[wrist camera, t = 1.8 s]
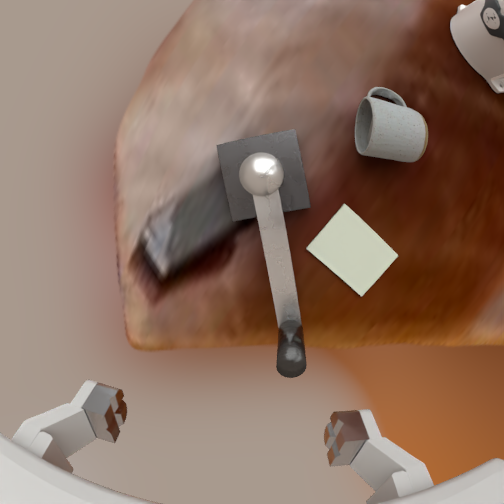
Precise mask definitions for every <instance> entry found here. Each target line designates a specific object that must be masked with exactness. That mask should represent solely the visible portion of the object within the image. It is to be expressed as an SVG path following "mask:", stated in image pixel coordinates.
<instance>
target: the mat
mask: <svg viewBox="0 0 504 504" xmlns="http://www.w3.org/2000/svg"><path fill="white" fill-rule="evenodd" d="M306 249H307V250H308V251H310V252H311V253H312V254H313V255H314V256H316V257H317V258H318V259H319V260H320V261H321V262H323V263H324V264H325V265H326V266H327V267H328V268H330V269H331V270H332V271H333V272H334V273H335V274H336V275H338V276H339V277H340V278H341V279H342V280H343V281H345V282H346V283H347V284H348V285H349V286H350V287H351V288H353V289H354V290H355V291H356V292H357V293H358V294H359V295H360V296H363V295H364V294H365V292H366V291H367V290H368V289H369V288H370V287H371V286H372V285H373V284H374V283H375V282H376V280H377V279H378V278H379V277H380V276H381V275H382V274H383V273H384V271H385V270H386V269H387V268H388V267H389V266H390V265H391V263H392V262H393V261H394V260H395V259H396V258H397V256H398V255H397V254H396V253H395V252H394V251H393V250H392V249H391V248H390V247H389V246H388V245H387V244H386V243H385V242H384V241H383V240H382V239H381V238H380V237H379V236H378V235H377V234H376V233H375V232H374V231H373V230H372V229H371V228H370V227H369V226H368V225H367V224H366V223H365V222H364V221H363V220H362V219H361V218H360V217H359V216H358V215H356V214H355V213H354V212H353V211H352V210H351V209H350V208H349V207H348V206H347V205H346V204H343V206H342V207H341V208H340V209H339V210H338V212H337V213H336V214H335V215H334V216H333V217H332V219H331V220H330V221H329V222H328V223H327V225H326V226H325V227H324V228H323V229H322V230H321V232H320V233H319V234H318V235H317V236H316V237H315V239H314V240H313V241H312V242H311V243H310V244H309V245H308V247H307V248H306Z"/></svg>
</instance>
